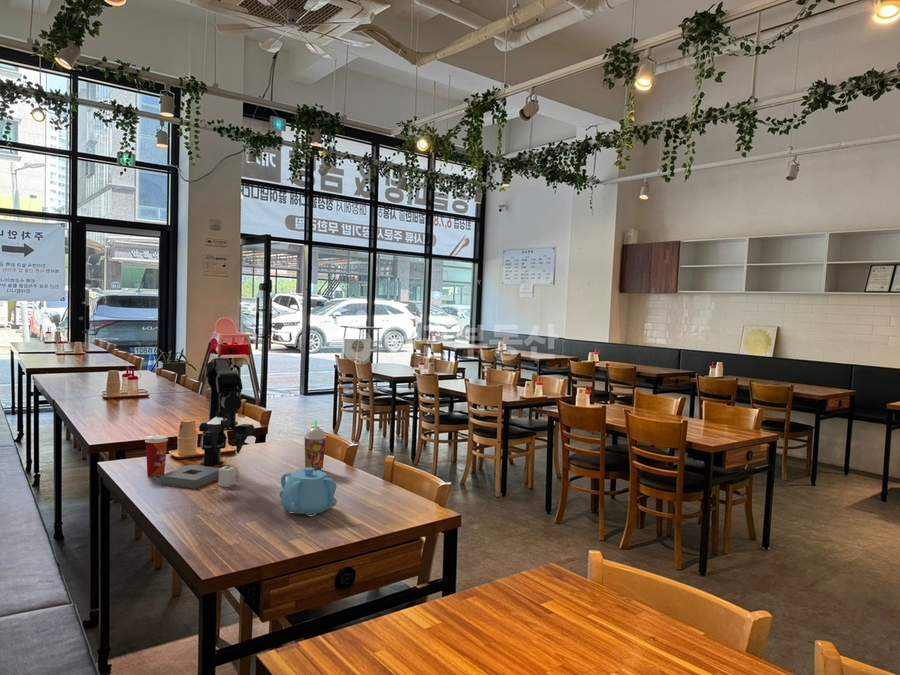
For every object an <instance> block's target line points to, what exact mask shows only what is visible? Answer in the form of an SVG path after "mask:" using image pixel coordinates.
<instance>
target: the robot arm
mask: <svg viewBox="0 0 900 675" xmlns="http://www.w3.org/2000/svg"><path fill="white" fill-rule="evenodd" d="M204 378H205V381H206V382H207V384H208V386H209V404H208V406H209V408H208V421H204V422H201V423H200V424H199V426H198V431H199V432H202V434H201V439H200V449H201V450H202V451H203V461H202V462H200V465H202V466H203V465H204V466H210V467H216V466H219V465H221V464H223V463H224V462H225V461H224V460H221V456H222V455H221V453H222V452H221V451H222V449H225V448H226V446H227V444H226V443H227V438H228V437H227V436H226V433H225V431H227V432H229V431H230V432H235V433H236V434H235V435H234V437H235V439H236V444H235V445H236V448H235V452H236V454H240V452H241V450H242V448H243V446H244V444H245V442H246V440H247V438H248V437H249V436H250V435H252V434H254V433H255V429H256V428H255V426H254V424H253V423H252V424H250V423H242V424H240V425H238V421H236V420H237V419H236V418H237V414H239V410H240V409H241V407H242V399H241V398H240V397H239V396H238V394H239V393H242V391H243V383H242V379H241V376H240V375H239V374H238V372H237V371H235V370H231V368H230V364H229V361H228V358H226V357H215V358H212V360H211V361H210V362H209V363H206V365H205V368H204Z"/></svg>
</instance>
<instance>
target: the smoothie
mask: <svg viewBox="0 0 900 675" xmlns="http://www.w3.org/2000/svg"><path fill="white" fill-rule="evenodd" d="M317 422H318V421H317V419H316V420H315V419H314V427H311V428H309V429H308V430H307V431H306V433H305V435H304V436H303V438H304V468H307V467H311V468H314V471H317V470H321V469H323V468H324V461H325V452H326V451H325V449H326V441H327V440H326V439H327V435H326V433H325V431H324V430H323V429H322V428H320V427H318V425H317V424H318V423H317ZM321 471H322V470H321Z"/></svg>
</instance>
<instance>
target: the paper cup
mask: <svg viewBox="0 0 900 675" xmlns="http://www.w3.org/2000/svg"><path fill="white" fill-rule="evenodd" d="M168 441H169V438H168V436H166V435H162V434H161V435H160V434H156V435H149V436H146V438H145V440H144V442H145V451H146V452H145V455H146V458H145V459H146V473H147V474H146V475H147V477H150V476H158V477H160V475H163V474H165V470H166V462H167V460H166V459H167V450H168V449H167V448H168Z"/></svg>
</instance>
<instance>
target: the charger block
mask: <svg viewBox="0 0 900 675" xmlns="http://www.w3.org/2000/svg"><path fill="white" fill-rule="evenodd" d="M219 468H220V467H219ZM236 470H237V469H236V466H230V465H229V466H228V465H226V466H223V467H221V468H220V469H219V478H218V483H217V484H218V485H217V486H219V487H225V488H226V487H227V488H229V487H232V486H234V485H236Z"/></svg>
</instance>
